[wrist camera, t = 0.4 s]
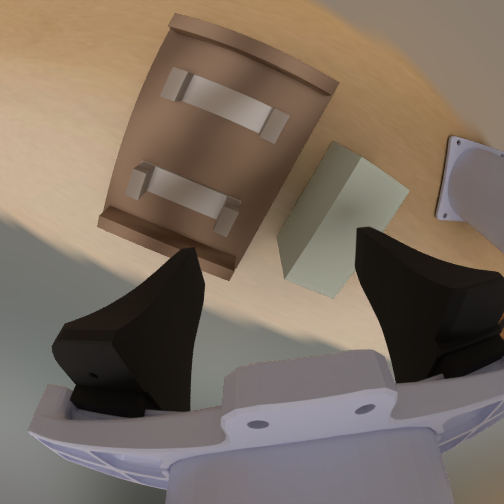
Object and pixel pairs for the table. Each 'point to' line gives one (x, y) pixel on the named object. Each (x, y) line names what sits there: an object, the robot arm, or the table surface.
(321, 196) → the tapered sage green block
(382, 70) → the table surface
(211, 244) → the brown wooden holder
